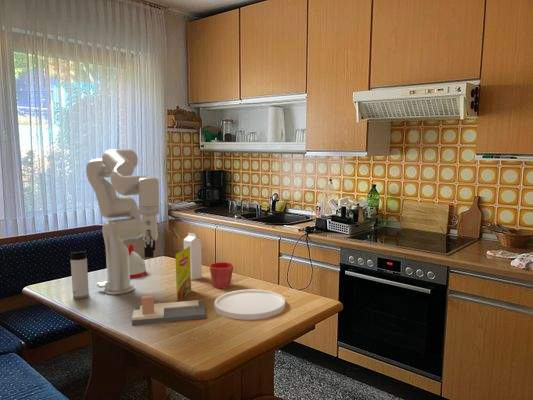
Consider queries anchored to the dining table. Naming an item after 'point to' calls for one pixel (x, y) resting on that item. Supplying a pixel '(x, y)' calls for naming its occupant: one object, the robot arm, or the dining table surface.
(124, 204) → the robot arm
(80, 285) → the travel mug
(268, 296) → the plate
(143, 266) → the kitchen timer
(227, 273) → the flower pot
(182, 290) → the food package
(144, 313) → the cream and peach block
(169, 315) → the mat
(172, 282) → the dining table surface
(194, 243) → the milk
